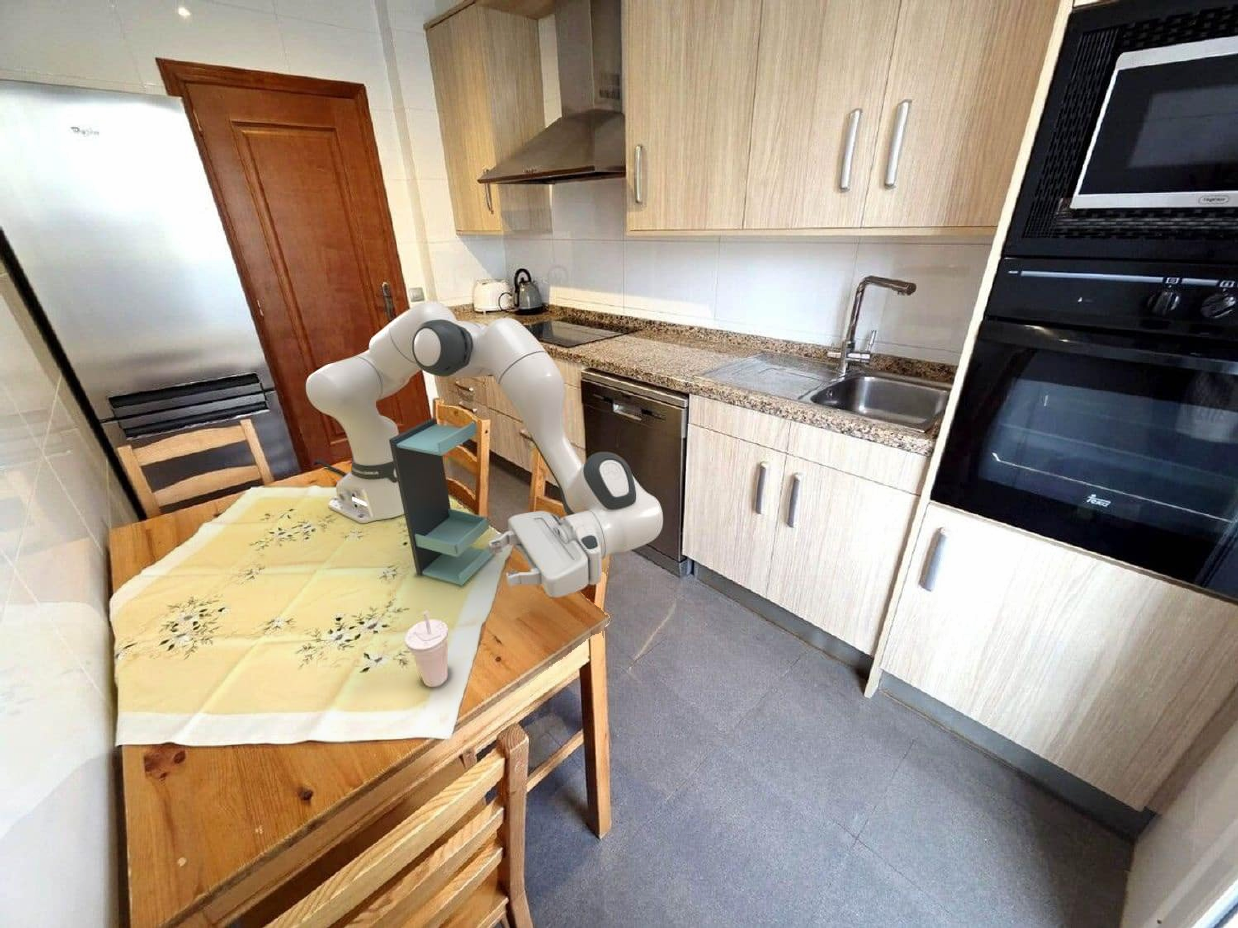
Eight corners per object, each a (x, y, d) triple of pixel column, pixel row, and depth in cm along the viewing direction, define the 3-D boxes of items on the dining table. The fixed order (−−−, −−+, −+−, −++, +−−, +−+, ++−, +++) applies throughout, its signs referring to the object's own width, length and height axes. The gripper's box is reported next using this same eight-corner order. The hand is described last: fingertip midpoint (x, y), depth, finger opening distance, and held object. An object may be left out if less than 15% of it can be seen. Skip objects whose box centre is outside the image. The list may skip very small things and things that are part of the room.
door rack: (416, 574, 105) (387, 434, 91) (452, 543, 116) (431, 413, 101) (460, 587, 102) (437, 443, 88) (493, 554, 112) (477, 420, 98)
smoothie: (443, 697, 79) (430, 630, 73) (406, 690, 80) (390, 623, 74) (463, 665, 84) (451, 600, 78) (428, 659, 85) (414, 594, 79)
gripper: (553, 496, 92) (478, 515, 86) (605, 556, 76) (516, 584, 70) (555, 525, 95) (482, 546, 89) (605, 588, 79) (520, 618, 73)
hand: (497, 563), depth 79 cm, fingers open, 8 cm apart
